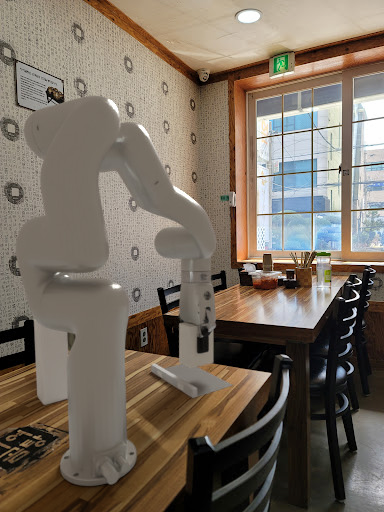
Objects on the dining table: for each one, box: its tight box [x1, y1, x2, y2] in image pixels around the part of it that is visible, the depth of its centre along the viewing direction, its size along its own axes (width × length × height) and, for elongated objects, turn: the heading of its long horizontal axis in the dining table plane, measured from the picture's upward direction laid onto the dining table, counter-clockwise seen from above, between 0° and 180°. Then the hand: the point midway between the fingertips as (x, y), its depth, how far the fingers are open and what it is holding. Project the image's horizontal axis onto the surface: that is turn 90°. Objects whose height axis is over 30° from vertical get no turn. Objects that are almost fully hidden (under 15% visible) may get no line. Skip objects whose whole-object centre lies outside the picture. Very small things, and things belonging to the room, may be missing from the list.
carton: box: [178, 322, 214, 368], centre depth 93 cm, size 7×5×10 cm
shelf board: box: [150, 363, 234, 399], centre depth 95 cm, size 20×12×4 cm, turn 34°
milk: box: [33, 319, 69, 406], centre depth 88 cm, size 6×6×22 cm
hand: (196, 348), depth 93 cm, fingers closed on carton, 5 cm apart
